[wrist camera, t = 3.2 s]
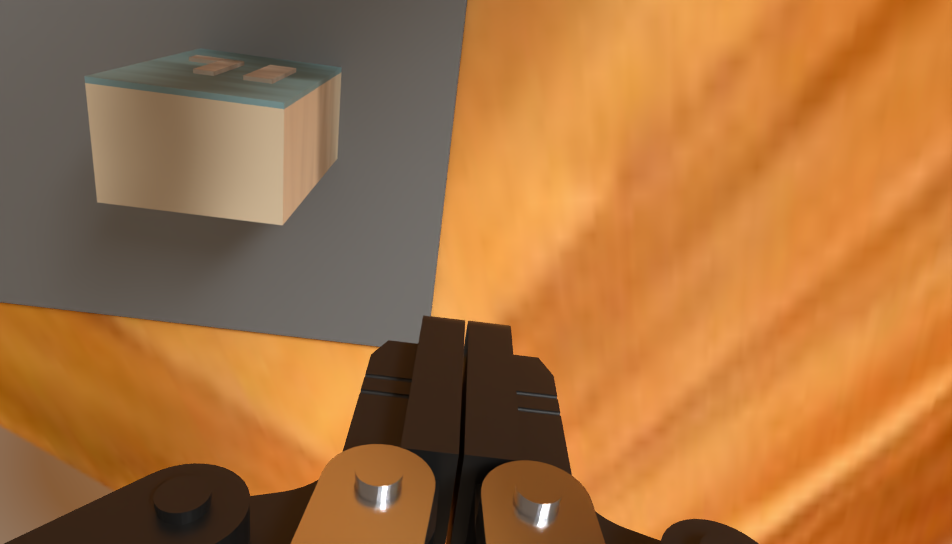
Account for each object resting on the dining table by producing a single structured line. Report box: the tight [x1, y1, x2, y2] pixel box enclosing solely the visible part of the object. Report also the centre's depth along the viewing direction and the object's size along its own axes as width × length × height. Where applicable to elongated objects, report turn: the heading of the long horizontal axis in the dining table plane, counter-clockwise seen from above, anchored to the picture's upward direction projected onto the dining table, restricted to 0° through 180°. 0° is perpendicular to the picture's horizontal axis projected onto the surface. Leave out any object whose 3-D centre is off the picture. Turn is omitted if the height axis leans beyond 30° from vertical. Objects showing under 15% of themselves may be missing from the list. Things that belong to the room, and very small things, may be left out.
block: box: [84, 48, 342, 225], centre depth 25 cm, size 6×4×9 cm
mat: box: [0, 0, 467, 347], centre depth 30 cm, size 22×19×1 cm
